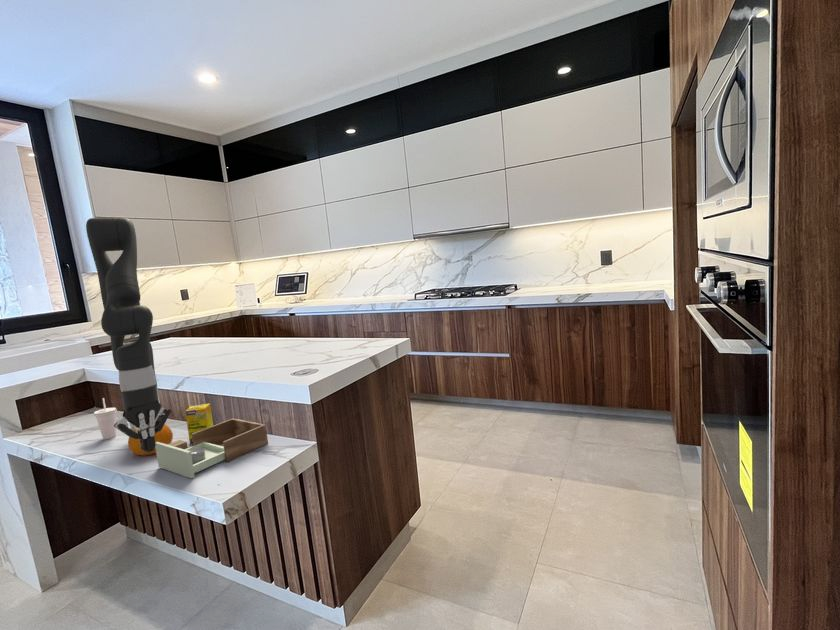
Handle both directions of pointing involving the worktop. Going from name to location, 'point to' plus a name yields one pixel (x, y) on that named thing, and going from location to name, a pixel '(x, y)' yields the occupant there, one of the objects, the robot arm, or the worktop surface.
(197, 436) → the cubby
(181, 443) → the brown wooden cube
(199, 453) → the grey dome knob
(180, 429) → the worktop surface
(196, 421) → the supplement box
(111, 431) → the smoothie
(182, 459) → the tray
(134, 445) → the fruit
